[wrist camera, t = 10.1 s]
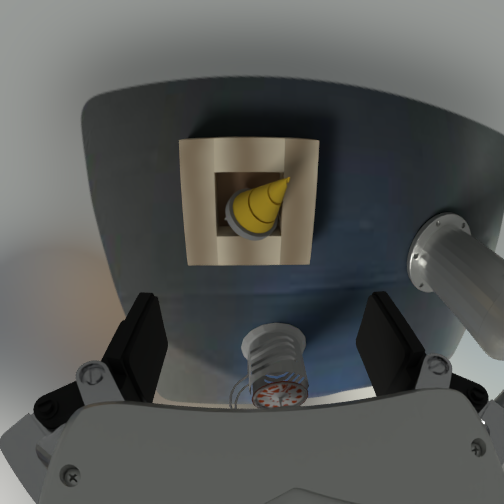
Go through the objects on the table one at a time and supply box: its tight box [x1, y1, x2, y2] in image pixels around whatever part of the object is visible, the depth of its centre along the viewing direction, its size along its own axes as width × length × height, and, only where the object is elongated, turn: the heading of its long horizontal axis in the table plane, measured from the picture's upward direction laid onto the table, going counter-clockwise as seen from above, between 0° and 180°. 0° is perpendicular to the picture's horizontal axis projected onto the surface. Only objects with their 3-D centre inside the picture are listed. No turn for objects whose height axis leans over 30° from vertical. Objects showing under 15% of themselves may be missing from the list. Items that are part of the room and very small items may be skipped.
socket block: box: [179, 137, 319, 265], centre depth 28 cm, size 13×13×4 cm
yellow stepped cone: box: [224, 177, 290, 241], centre depth 26 cm, size 5×5×10 cm
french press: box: [229, 323, 309, 409], centre depth 29 cm, size 10×12×25 cm
